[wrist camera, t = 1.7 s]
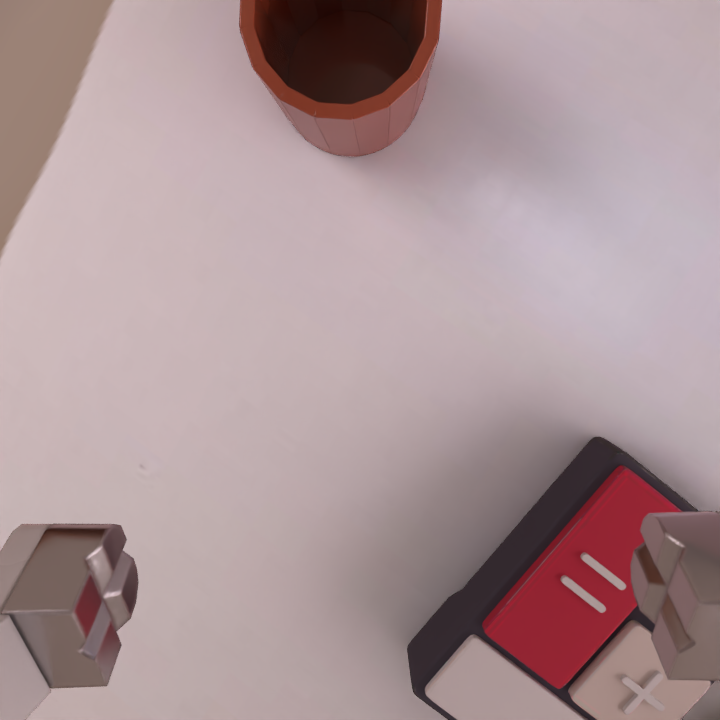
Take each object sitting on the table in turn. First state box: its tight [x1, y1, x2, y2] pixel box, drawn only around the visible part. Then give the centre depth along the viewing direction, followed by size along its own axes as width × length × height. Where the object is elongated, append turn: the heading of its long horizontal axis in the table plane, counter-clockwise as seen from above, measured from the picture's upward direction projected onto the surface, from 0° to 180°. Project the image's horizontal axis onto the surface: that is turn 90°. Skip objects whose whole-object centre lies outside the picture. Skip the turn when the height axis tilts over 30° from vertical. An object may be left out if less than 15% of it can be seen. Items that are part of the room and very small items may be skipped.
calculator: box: [407, 437, 714, 720], centre depth 31 cm, size 11×4×15 cm
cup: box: [239, 0, 442, 156], centre depth 25 cm, size 7×7×8 cm
